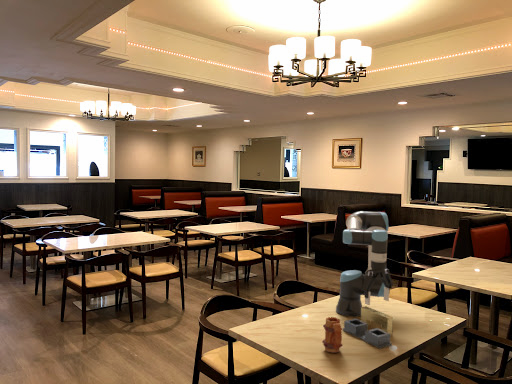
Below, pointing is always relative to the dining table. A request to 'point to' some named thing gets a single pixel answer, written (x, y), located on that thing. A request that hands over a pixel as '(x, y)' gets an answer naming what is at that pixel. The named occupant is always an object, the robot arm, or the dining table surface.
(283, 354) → the dining table surface
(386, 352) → the dining table surface
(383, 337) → the grey double socket base
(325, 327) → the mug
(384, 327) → the tan wooden block
